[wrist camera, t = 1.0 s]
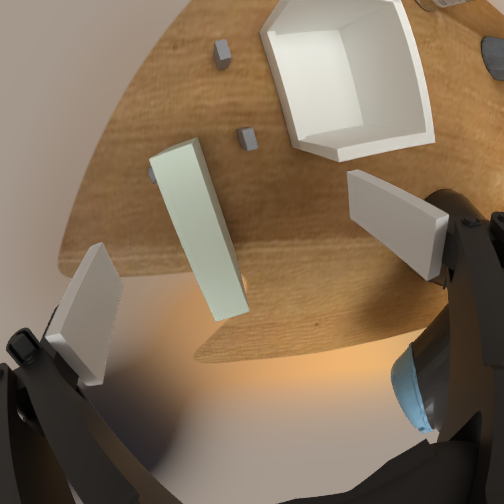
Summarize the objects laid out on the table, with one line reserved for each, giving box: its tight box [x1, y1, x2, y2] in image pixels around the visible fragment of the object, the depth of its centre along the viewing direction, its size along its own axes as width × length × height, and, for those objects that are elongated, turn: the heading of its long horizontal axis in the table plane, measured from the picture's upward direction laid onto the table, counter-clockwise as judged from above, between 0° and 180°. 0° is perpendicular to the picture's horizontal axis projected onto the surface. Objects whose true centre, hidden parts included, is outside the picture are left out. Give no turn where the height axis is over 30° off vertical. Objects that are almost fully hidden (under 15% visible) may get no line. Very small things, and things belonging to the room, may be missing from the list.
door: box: [148, 137, 250, 322], centre depth 25 cm, size 14×4×12 cm, turn 15°
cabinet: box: [213, 0, 435, 162], centre depth 21 cm, size 14×15×12 cm
